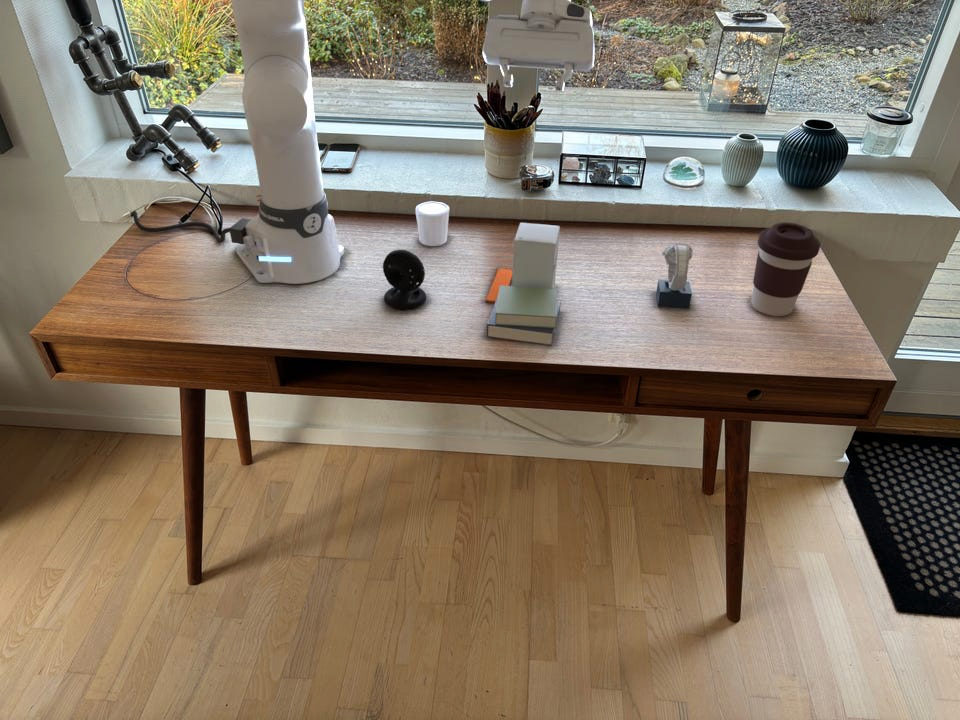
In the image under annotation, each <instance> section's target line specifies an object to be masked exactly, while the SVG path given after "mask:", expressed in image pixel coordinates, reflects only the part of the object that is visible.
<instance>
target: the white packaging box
mask: <svg viewBox="0 0 960 720" xmlns="http://www.w3.org/2000/svg"><path fill="white" fill-rule="evenodd" d="M560 231H561V227H560V225H551V224H544V223H543V224H541V223H530V222H520V223H519V225H518V228H517V231H516V234H515V237H514V239H513V251H512V252H513V253H512V270H513V271H512V279H511V286H515V287H532V288H549V289H556V288H555V287H556V278H557V277H556V276H557V267H558V266H557V265H558V257H559V256H558V255H559V240H560Z"/></svg>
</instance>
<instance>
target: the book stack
mask: <svg viewBox="0 0 960 720" xmlns="http://www.w3.org/2000/svg"><path fill="white" fill-rule="evenodd" d="M560 314H561V301H558V288H554V289H549V288H532V287H515V286H512V285H509V286H500V287H499V293H498V297H497V300H496V302H495V303H494V305H493V308H492V310H491V313H490V314H489V318H488V321H487V323H486V338H493V339H500V340H508V341H513V342H522V343H528V344H538V345H545V346H552V345H553V342H554V338H555V334H556V330H557V326H558V322H559V319H560V316H561V315H560Z"/></svg>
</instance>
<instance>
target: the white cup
mask: <svg viewBox="0 0 960 720" xmlns="http://www.w3.org/2000/svg"><path fill="white" fill-rule="evenodd" d="M415 217H416V225H417V231H418V232H417V233H418V239H419V243H421V244H422V245H424V246H429V247H438V246H442V245H444V244H446V243H447V241H448V232H449V231H448V229H449V218H450V206H449V205H448V204H446V203H444V202H440V201H426V202H422V203H419V204H418V205H416V207H415Z"/></svg>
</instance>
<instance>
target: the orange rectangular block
mask: <svg viewBox="0 0 960 720" xmlns="http://www.w3.org/2000/svg"><path fill="white" fill-rule="evenodd" d="M512 271H513V269H507V268H498V270H497V272H496V274H495V277H494V279H493V281H492V285H491V287H490V290H489V291H488V294H487V296H486V298H485V302H486V303H493V304H495V302H496V300H497V297H498V293H499V287H500V286H510V284H511V283H512Z"/></svg>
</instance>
